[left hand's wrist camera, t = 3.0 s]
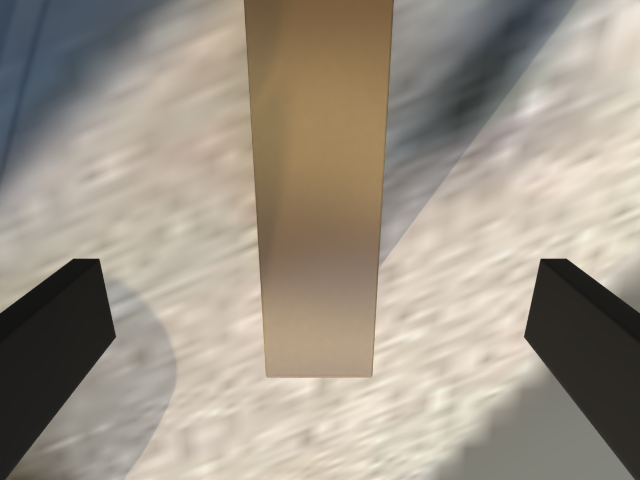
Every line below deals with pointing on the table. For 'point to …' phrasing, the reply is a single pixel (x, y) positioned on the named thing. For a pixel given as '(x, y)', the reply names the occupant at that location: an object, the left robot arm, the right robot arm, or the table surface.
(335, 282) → the beam
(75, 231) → the table surface
